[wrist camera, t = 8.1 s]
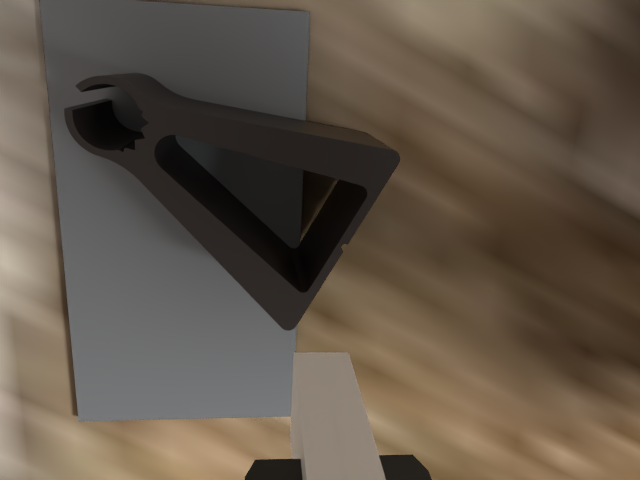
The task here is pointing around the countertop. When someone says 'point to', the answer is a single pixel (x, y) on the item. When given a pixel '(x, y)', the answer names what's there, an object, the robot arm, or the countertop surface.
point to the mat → (159, 224)
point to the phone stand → (219, 203)
